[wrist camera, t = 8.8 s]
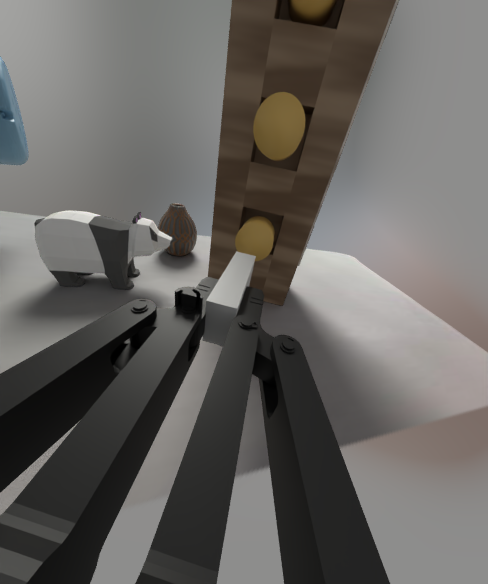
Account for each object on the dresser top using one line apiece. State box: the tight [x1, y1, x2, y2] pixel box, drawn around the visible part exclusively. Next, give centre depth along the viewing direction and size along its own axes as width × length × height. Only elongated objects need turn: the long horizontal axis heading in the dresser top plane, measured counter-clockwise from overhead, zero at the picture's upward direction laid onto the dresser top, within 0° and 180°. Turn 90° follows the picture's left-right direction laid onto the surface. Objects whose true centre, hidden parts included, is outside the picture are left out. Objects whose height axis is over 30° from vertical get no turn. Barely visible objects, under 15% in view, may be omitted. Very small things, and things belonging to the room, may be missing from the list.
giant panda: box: [35, 210, 173, 289], centre depth 25 cm, size 15×6×10 cm, turn 101°
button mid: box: [253, 92, 305, 161], centre depth 17 cm, size 4×4×4 cm
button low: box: [235, 216, 275, 261], centre depth 22 cm, size 4×4×4 cm
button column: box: [208, 0, 399, 306], centre depth 24 cm, size 8×13×34 cm, turn 79°
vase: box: [158, 203, 197, 256], centre depth 36 cm, size 7×7×9 cm
